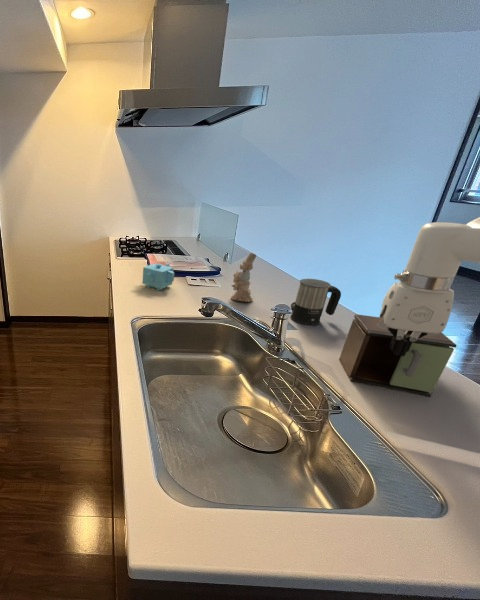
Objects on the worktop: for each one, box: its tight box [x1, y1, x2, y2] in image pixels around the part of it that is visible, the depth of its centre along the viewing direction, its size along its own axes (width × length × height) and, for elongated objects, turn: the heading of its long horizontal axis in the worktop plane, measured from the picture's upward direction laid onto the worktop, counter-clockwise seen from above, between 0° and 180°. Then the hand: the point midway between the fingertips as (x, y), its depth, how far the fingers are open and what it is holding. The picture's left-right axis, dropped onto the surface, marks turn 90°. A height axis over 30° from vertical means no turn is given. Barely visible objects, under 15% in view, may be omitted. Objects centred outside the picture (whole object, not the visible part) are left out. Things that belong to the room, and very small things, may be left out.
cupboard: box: [338, 313, 457, 398], centre depth 84 cm, size 16×11×15 cm
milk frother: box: [289, 278, 342, 326], centre depth 119 cm, size 14×16×15 cm
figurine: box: [230, 252, 257, 303], centre depth 133 cm, size 9×8×20 cm
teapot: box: [141, 262, 176, 291], centre depth 151 cm, size 16×18×11 cm
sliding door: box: [390, 342, 455, 394], centre depth 77 cm, size 8×4×13 cm, turn 66°
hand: (397, 352), depth 76 cm, fingers closed
